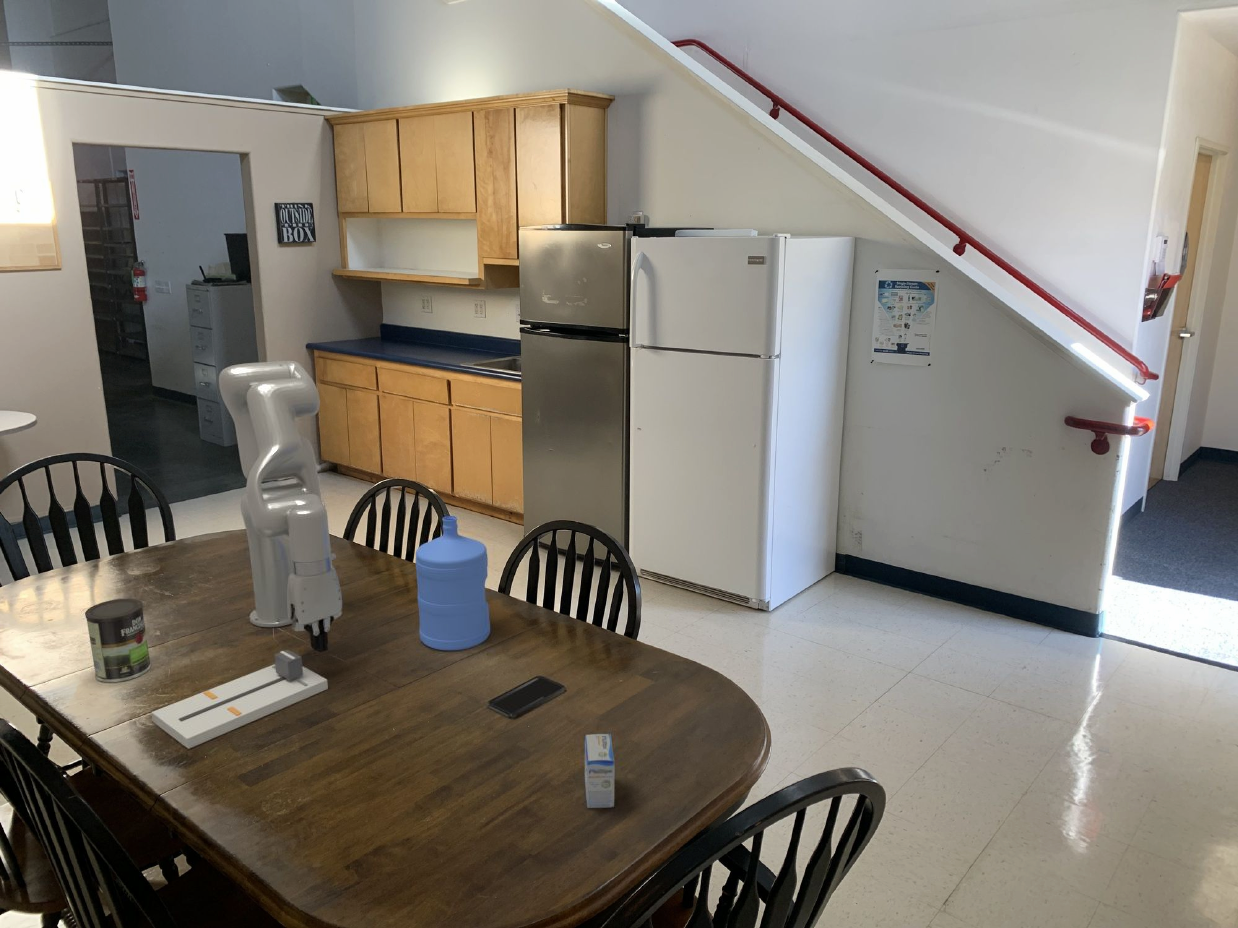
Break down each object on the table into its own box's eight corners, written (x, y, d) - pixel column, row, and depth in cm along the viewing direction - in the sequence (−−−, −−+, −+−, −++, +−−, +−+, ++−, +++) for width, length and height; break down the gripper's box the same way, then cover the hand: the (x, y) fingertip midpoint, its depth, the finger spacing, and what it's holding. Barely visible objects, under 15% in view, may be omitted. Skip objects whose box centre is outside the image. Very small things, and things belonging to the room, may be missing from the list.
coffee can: (162, 661, 191) (153, 600, 188) (127, 685, 182) (117, 620, 178) (119, 657, 193) (110, 595, 190) (83, 680, 184) (72, 616, 180)
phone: (484, 703, 174) (539, 674, 185) (484, 708, 174) (539, 679, 185) (512, 717, 169) (567, 686, 180) (513, 722, 169) (567, 691, 180)
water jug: (458, 658, 193) (452, 534, 186) (405, 641, 201) (397, 521, 194) (504, 631, 206) (500, 514, 199) (452, 616, 214) (447, 503, 207)
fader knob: (289, 667, 184) (287, 648, 183) (303, 674, 181) (301, 655, 180) (275, 672, 182) (273, 653, 180) (289, 680, 178) (287, 661, 177)
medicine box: (584, 779, 151) (584, 733, 149) (611, 778, 151) (611, 732, 149) (586, 809, 143) (586, 761, 141) (614, 807, 144) (615, 759, 142)
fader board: (289, 667, 189) (288, 657, 188) (327, 688, 180) (327, 678, 180) (152, 721, 168) (151, 711, 168) (188, 748, 160) (186, 737, 159)
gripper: (334, 551, 189) (341, 633, 193) (267, 571, 178) (276, 657, 182) (355, 559, 184) (362, 642, 188) (288, 580, 173) (297, 668, 177)
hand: (320, 649), depth 185 cm, fingers closed
